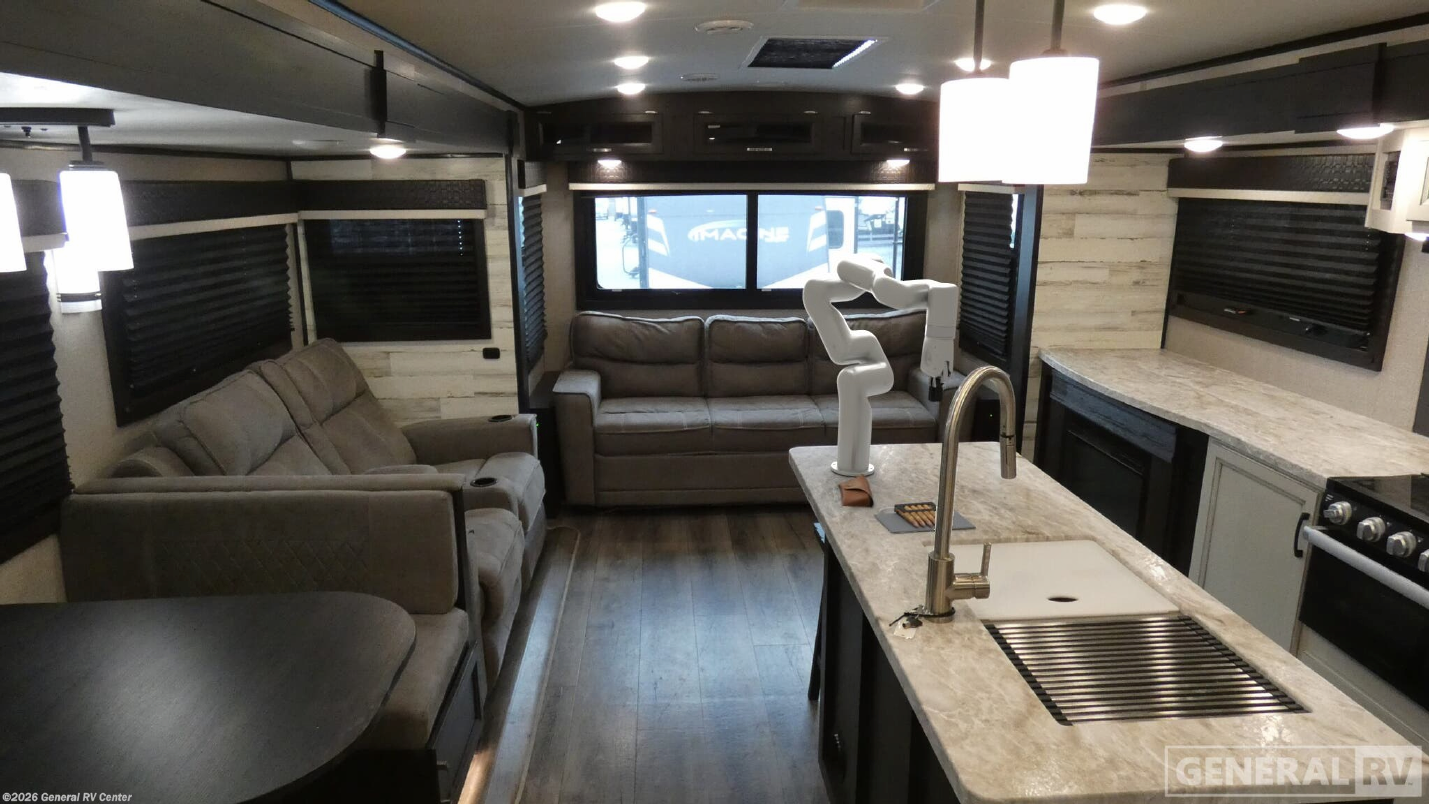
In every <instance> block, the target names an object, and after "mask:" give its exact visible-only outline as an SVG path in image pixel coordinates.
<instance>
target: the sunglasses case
mask: <svg viewBox="0 0 1429 804" xmlns="http://www.w3.org/2000/svg"><path fill="white" fill-rule="evenodd" d="M837 486H838V488H839V490H840V494H841V506H842V507H855V508H871V509H872V508H873V507H874V505H875V501H874V498H873V493H872V491H871V486H870V484H869V481H868V479H867V476H865V475H863V474H861V475H859V476H855V478H852V479H849V480H847V481H844V482H841V483H839V484H837Z"/></svg>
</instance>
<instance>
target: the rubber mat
mask: <svg viewBox="0 0 1429 804" xmlns="http://www.w3.org/2000/svg"><path fill="white" fill-rule="evenodd" d="M953 510H954V516H953V526H952V530H951V531H954V530H953V529H959V530H971V529H972V530H973V529H974V530H976V529H977V527H976V526H975V525H974V524H973V523H972V522H971V521H969V520H968V519H967V518H965V517H964V515H962V514H960V513H959V512H958V511H956V509H953ZM873 517H875V518H876V519H877V521H878V522H879V523H880V524H881V525H882V526H883V527H884V528H885V527H886V530H887V529H888V530H887V531H888V532H889V531H890V532H891V533H894V534H901V533H900V532H910V533H915V532H914V531H927V532H935V531H934V529H935V525H934V524H933V523H932V522H931V523H932V526H929V525H927V524H926V523H925V527H924V526H921V525H920V524H918V525H919V527H916V526H914V525H913V524H911V523H909V522H908V521H907V520H906V519H903V518H902V517H901V516H899V515H898V514H897V513H896V512H890V513H889V512H888V513H875V514H873ZM890 532H889V533H890ZM891 533H890V534H891Z"/></svg>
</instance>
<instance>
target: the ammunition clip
mask: <svg viewBox="0 0 1429 804" xmlns="http://www.w3.org/2000/svg"><path fill="white" fill-rule="evenodd" d="M936 506H937V505H936V503H935V502H934V501H921V502H911V503H910V502H909V503H897V504H895V503H894V508H893V512H894V513H897V514H898V515H899V516H901V517H902V518H903V519H906V520H907V521H908V522H909V523H911V524H913V525H914V526H916V527H919V525H918V524H920V525H921V526H924V527H925V523H926V524H927V525H929V526H932V523H933V524H934V525H935V511H936ZM931 522H932V523H931Z"/></svg>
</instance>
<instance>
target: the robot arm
mask: <svg viewBox="0 0 1429 804" xmlns="http://www.w3.org/2000/svg"><path fill="white" fill-rule="evenodd" d="M835 269H836V272H827V273H820V274H815V275H813V276H811V277H809V278H808V279H807V280H806V282H805V283H804V286H803V289H802V301H803V305H804V308H805V311H806V313H807V314H808V316H809V318H810V320H811V322H812V323H813V324H814V326H815V327H816V330H817V332H818V334H819V337H820V339H821V341H822V344H823V345H824V348H825V350H826V352H827V354H828V356H829V358H830V360H831V361H832V362H833V363H834V364H836V365H838V366H839V365H841V366H843V365H844V366H845V365H848V366H846V367H844V368H842V370H841V371H840V372H839V373H838V375H837V379H836V384H837V385H836V386H837V393H838V403H839V404H838V408H839V409H838V429H837V430H838V431H837V448H836V449H837V450H836V451H837V452H836V461H833V462H832V463H831V465H830V470H831V471H832V472H834V473H836V474H838V475H841V476H846V477H858V476H859V475H861V474H863V475H865V477H867V476H870V475H872V474H873V473H874V472H875V466H874V465H873V464H871V463H870V457H871V441H872V425H873V424H872V422H873V409H872V407H871V404H870V401H869V400H868V397H871V396H878V395H881V394H885V393H887V392H889V391H890V390H891V389H892V388H893V385H894V383H895V380H894V377H895V376H894V371H893V369H892V367H891V365H890V362H889V360H888V358H887V356H886V354H885V353H884V350H883V348H882V346H881V344H880V342H879V340H878V339H877V337H876V335H874V334H873V333H872V332H871V331H868V330H864V329H861V330H860V329H859V330H852V329H850V326H848V324H847V322H846V318H845V317H844V316H843V314H842V313H841V312H840V311H839V310H838V309H837V308H836V307H835V306H834V305H832V303H837V302H838V303H839V302H849V301H853V300H854V299H857V298H859V297H860V296H861V295H863V294H864V293H866V292H868V293H870V294H872V295H873V297H874V298H875V300H876V301H877V302H878V303H880V304H882V305H884V306H886V307H889V308H893V309H895V310H900V311H911V310H923V309H926V319H925V332H924V339H923V345H922V351H921V361H920V370H921V372H923V373H924V374H926V376H927V377H928V385H929V386H928V395H927V400H928V401H929V402H930V403H939V402H940V403H941V402H942V401H943V392H944V387H945V384H946V383H947V384H948V382H949V378H950V377H952V375H953V371H954V353H955V352H954V351H955V349H954V339H956V327H957V317H958V316H957V315H958V307H959V306H958V305H959V290H960V289H959V287H958V285H956V284H955V283H946V282H945V283H944V282H939V281H935V280H933V279H915V280H914V279H913V280H904V281H903V280H899V279H896V278H895V277H894V272H893V269H892V268H891V267H890V266H889V265H887V264H885V262H884V259H883V258H882V257H881V256H880V255H878V254H876V253H871V252H866V253H850V254H847V255H845V256H843V257H841V258H840V259H839V261H838V262H837V264H836V268H835Z"/></svg>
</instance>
